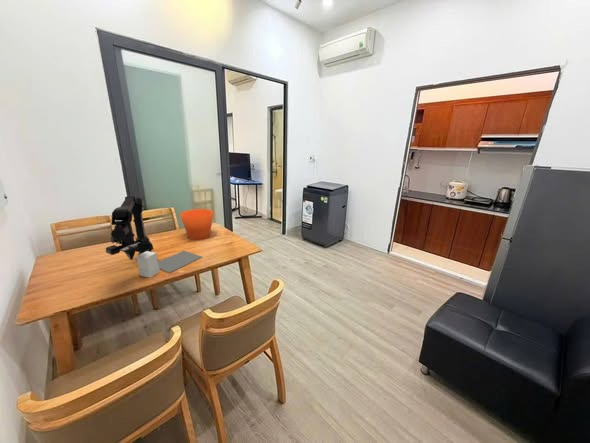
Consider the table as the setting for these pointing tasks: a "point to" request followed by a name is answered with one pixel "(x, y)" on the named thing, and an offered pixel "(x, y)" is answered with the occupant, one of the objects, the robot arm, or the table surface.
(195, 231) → the flowerpot
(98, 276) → the table surface
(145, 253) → the supplement box
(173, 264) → the mat
